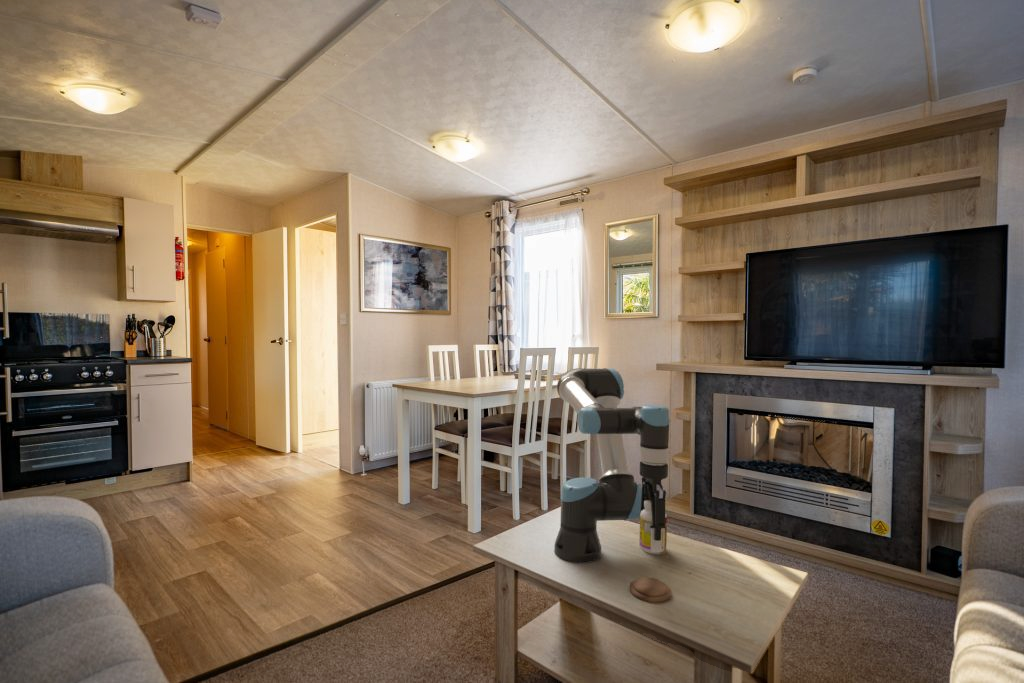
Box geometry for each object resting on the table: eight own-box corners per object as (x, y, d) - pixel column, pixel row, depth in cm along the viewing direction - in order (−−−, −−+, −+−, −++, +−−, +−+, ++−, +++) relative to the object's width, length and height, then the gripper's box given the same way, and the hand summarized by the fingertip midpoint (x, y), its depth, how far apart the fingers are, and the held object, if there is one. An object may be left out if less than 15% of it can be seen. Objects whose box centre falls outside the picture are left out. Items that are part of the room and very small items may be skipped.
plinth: (627, 597, 135) (627, 590, 135) (631, 579, 145) (632, 572, 145) (670, 606, 131) (670, 598, 131) (671, 586, 142) (671, 579, 142)
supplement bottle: (643, 542, 142) (644, 497, 142) (666, 547, 139) (667, 501, 139) (636, 550, 137) (637, 503, 137) (660, 556, 133) (662, 508, 133)
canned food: (665, 546, 169) (666, 511, 169) (666, 556, 161) (667, 519, 161) (641, 543, 171) (642, 508, 171) (641, 553, 163) (642, 516, 163)
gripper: (680, 471, 128) (678, 561, 128) (656, 454, 148) (654, 531, 148) (651, 471, 128) (649, 561, 128) (630, 453, 147) (628, 531, 148)
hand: (651, 545), depth 138 cm, fingers closed on supplement bottle, 7 cm apart
